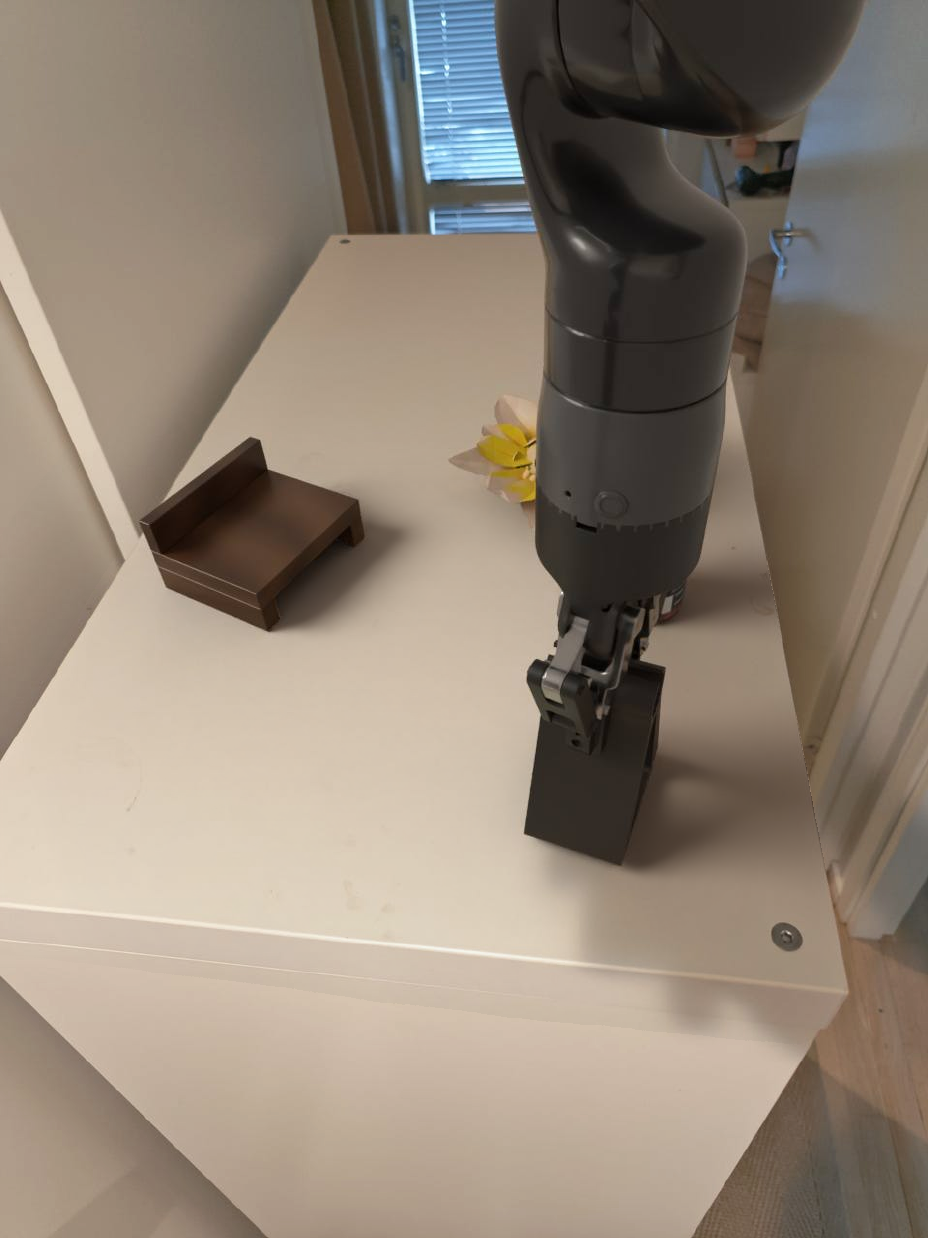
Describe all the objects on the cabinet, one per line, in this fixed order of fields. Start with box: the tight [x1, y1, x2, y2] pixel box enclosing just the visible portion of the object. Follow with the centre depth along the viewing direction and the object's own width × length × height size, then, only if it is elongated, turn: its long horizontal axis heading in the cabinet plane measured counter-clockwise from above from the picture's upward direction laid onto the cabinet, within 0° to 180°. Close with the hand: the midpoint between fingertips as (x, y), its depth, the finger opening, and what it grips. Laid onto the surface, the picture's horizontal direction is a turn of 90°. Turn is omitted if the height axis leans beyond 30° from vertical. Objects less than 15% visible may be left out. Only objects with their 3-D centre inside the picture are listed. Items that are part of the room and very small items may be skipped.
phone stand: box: [523, 639, 667, 867], centre depth 49 cm, size 9×6×12 cm, turn 157°
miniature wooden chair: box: [138, 436, 366, 632], centre depth 69 cm, size 13×11×7 cm
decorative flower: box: [447, 394, 538, 533], centre depth 73 cm, size 15×11×10 cm
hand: (599, 720), depth 48 cm, fingers closed on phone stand, 3 cm apart
